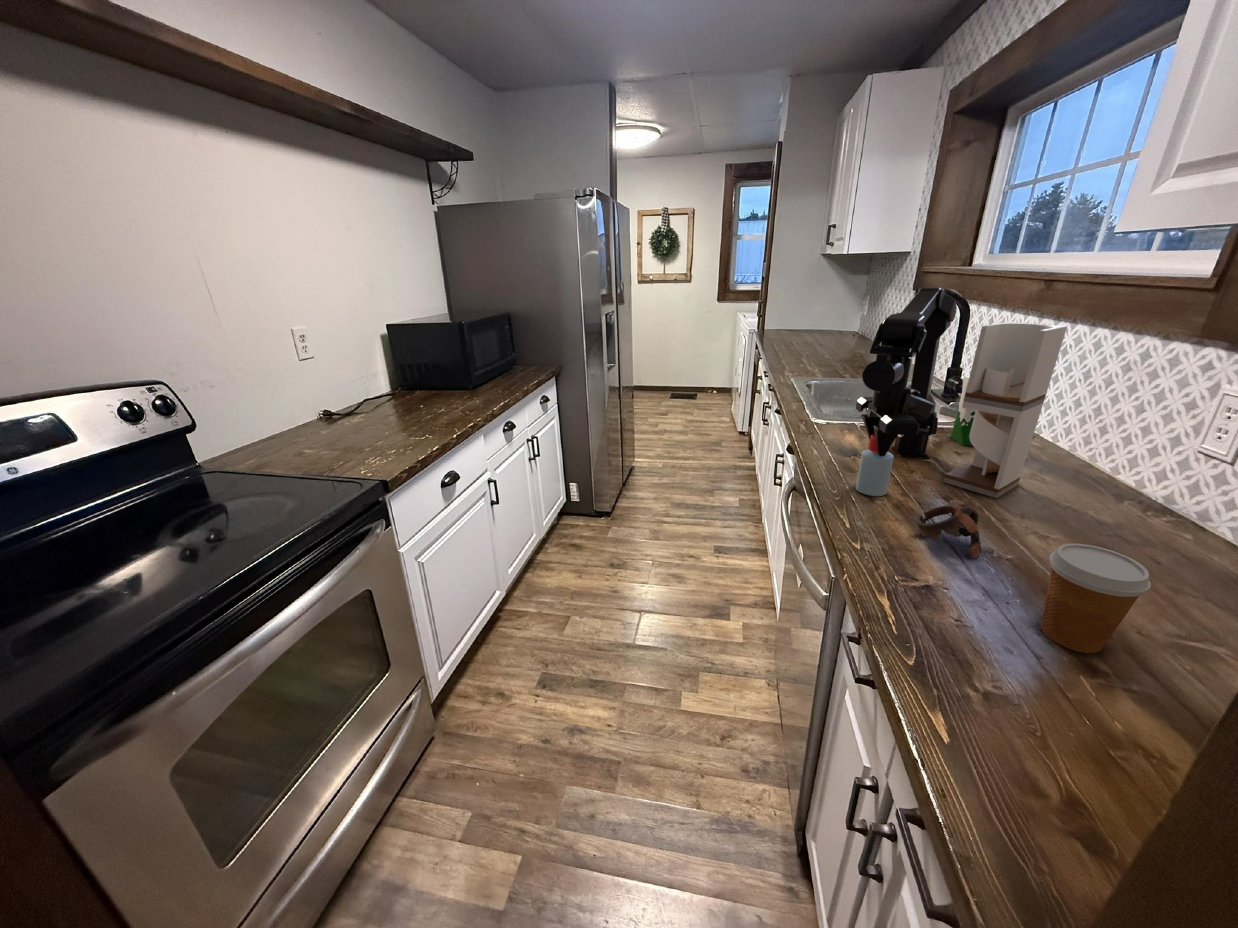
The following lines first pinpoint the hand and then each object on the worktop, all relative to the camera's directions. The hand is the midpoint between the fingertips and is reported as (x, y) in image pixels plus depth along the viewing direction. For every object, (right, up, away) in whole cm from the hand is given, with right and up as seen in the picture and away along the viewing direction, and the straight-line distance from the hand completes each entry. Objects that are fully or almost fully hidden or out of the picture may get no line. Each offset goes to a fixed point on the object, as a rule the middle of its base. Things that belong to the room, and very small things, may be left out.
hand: (878, 452), depth 107 cm
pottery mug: (+4, -17, -18) cm, 25 cm away
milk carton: (+43, +4, +32) cm, 54 cm away
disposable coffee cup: (+5, -26, -40) cm, 48 cm away
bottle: (0, -8, +3) cm, 9 cm away
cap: (0, +1, 0) cm, 1 cm away
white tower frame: (+27, -7, +6) cm, 28 cm away
